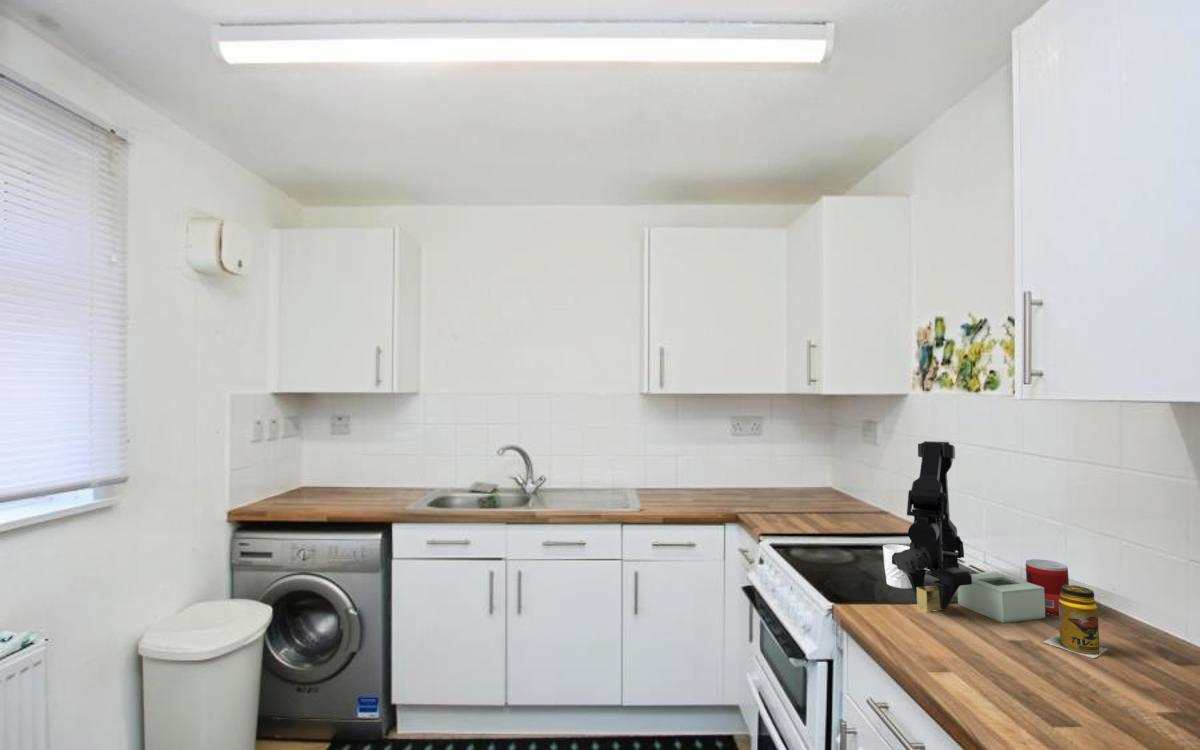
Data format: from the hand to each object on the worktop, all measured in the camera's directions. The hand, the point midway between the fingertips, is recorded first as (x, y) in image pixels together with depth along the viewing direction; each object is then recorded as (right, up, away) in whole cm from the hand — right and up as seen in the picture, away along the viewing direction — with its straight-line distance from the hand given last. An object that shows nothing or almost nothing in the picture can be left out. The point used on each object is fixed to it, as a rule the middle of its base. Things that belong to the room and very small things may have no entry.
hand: (930, 603), depth 133 cm
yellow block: (0, -1, 0) cm, 1 cm away
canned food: (+28, -1, -1) cm, 28 cm away
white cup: (+2, -2, +18) cm, 18 cm away
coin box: (+16, -1, -2) cm, 16 cm away
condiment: (+17, 0, -21) cm, 27 cm away
